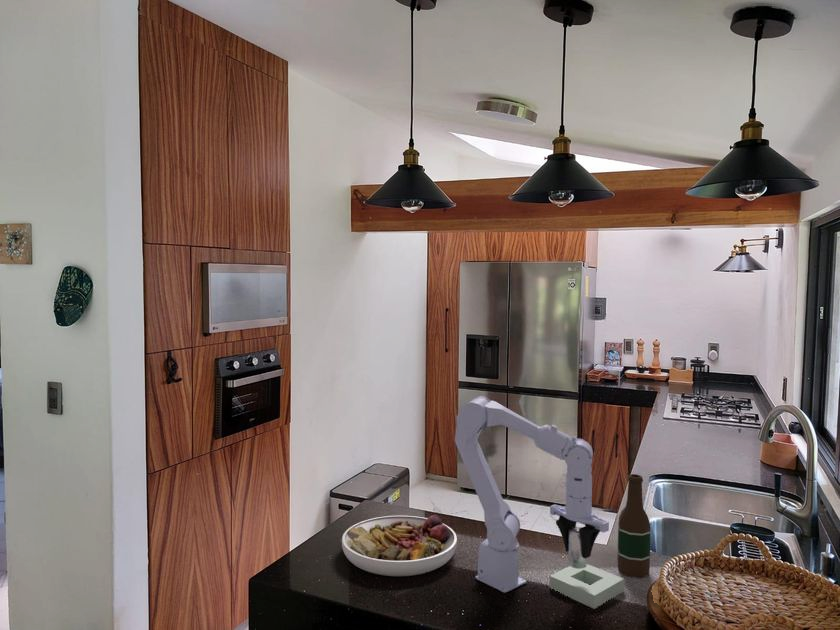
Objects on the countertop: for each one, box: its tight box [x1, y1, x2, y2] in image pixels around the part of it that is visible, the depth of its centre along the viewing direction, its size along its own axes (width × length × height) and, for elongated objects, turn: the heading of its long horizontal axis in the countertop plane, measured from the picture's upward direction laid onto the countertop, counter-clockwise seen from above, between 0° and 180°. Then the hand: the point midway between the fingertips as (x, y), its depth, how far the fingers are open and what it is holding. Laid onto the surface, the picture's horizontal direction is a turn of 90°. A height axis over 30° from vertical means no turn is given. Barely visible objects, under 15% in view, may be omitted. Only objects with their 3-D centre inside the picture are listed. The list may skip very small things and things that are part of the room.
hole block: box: [549, 563, 625, 610], centre depth 142 cm, size 12×12×3 cm
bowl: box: [341, 514, 458, 577], centre depth 161 cm, size 30×30×8 cm
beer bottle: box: [617, 473, 651, 579], centre depth 151 cm, size 8×8×24 cm
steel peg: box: [568, 526, 588, 569], centre depth 139 cm, size 4×4×8 cm
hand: (578, 553), depth 140 cm, fingers closed on steel peg, 4 cm apart
